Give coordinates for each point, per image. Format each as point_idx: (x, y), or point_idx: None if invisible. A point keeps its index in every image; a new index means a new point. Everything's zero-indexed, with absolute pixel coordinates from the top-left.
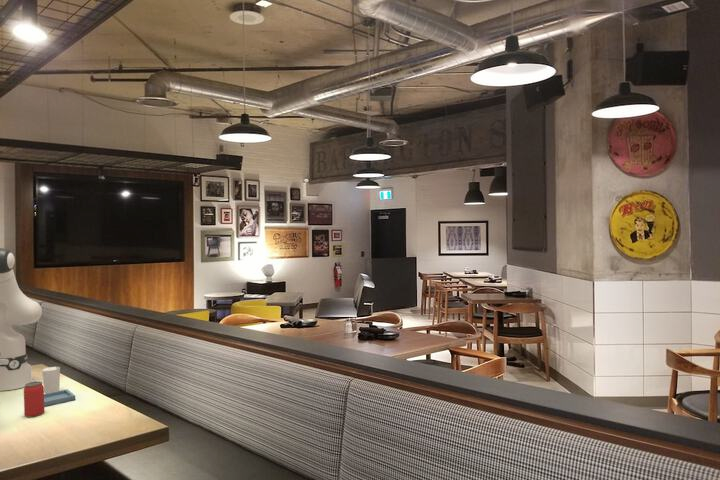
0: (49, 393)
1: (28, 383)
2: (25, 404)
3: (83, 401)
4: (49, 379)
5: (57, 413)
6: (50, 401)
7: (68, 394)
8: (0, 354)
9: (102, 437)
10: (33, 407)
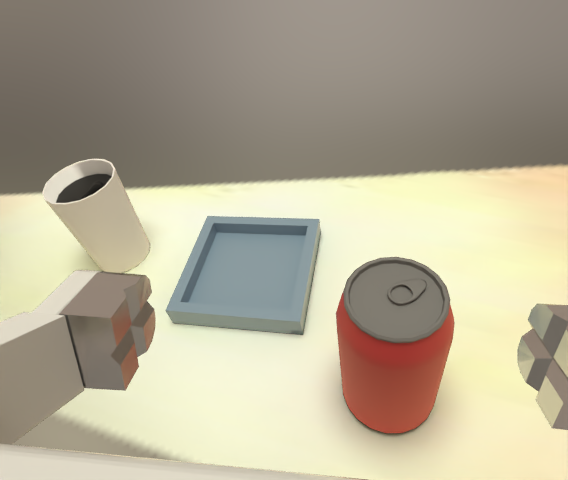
0: (194, 267)
1: (354, 312)
2: (409, 406)
3: (363, 221)
4: (117, 221)
5: (454, 320)
6: (306, 294)
7: (258, 229)
8: (145, 297)
9: None
10: (439, 384)
